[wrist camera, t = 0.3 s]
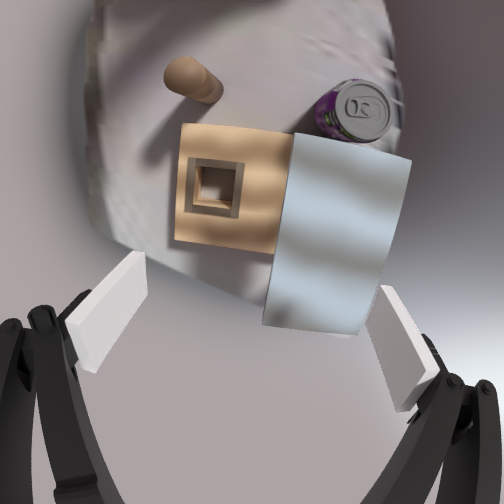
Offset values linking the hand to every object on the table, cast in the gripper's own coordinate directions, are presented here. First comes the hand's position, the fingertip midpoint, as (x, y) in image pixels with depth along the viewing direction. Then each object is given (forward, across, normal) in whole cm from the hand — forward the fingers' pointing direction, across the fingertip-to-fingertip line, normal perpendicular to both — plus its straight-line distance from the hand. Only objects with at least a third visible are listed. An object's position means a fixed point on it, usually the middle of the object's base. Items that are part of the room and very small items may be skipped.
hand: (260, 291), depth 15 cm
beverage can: (+27, +8, +12) cm, 30 cm away
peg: (+26, -10, +13) cm, 31 cm away
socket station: (+26, -1, 0) cm, 26 cm away
